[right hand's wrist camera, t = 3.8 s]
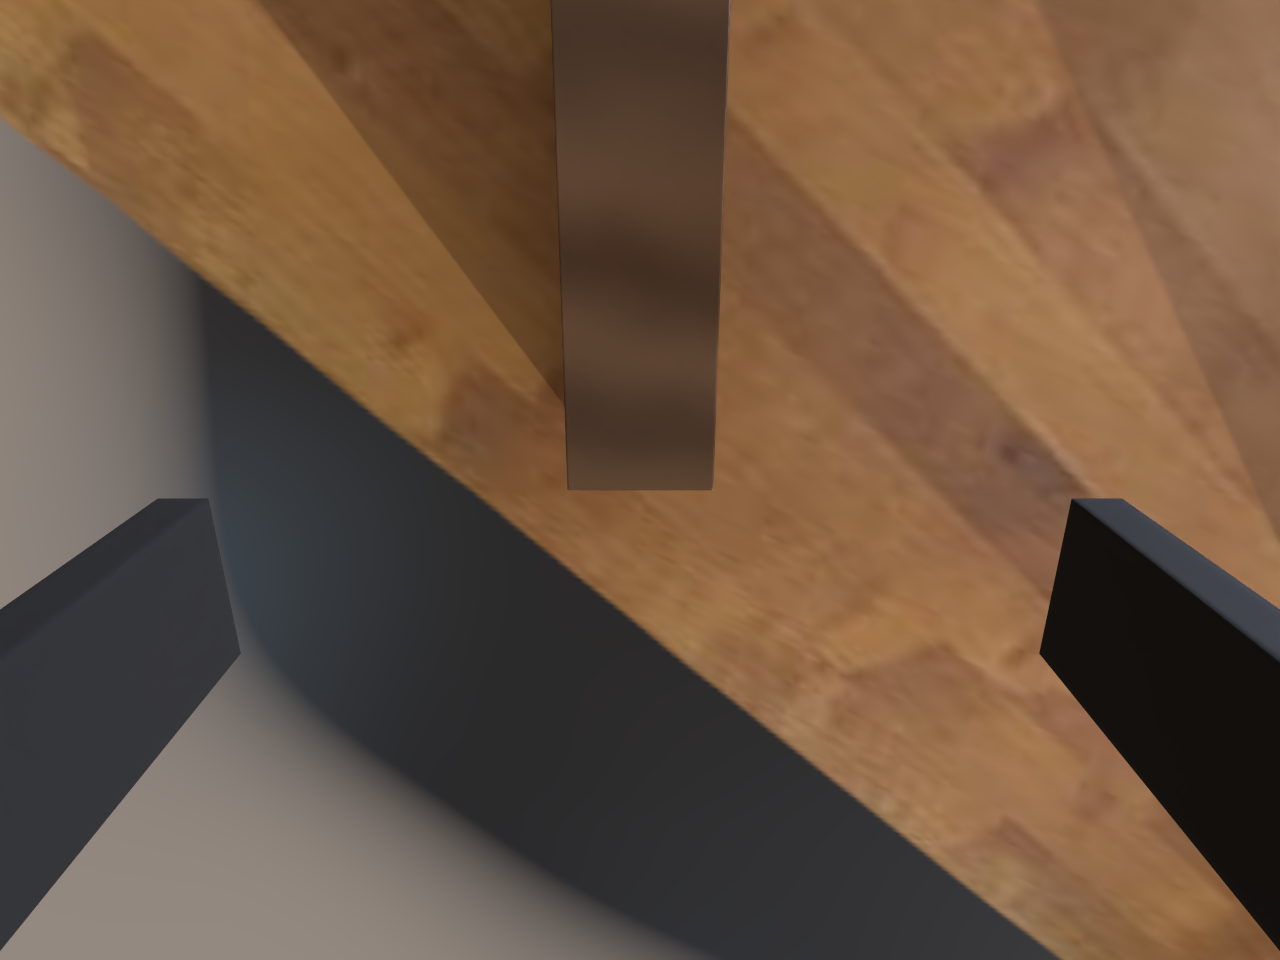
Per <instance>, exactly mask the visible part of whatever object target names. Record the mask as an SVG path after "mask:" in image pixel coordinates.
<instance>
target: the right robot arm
mask: <svg viewBox="0 0 1280 960" xmlns="http://www.w3.org/2000/svg"><path fill="white" fill-rule="evenodd" d="M1039 654H1040V655H1041V656H1042V657H1043V659H1044V660H1045V661H1046V662H1047V663H1048V665H1049V666H1050V667H1051V668H1052V670H1053V671H1054V672H1055V673H1056V675H1057V676H1058V677H1059V678H1060V680H1061V681H1062V682H1063V683H1064V685H1065V686H1066V687H1067V688H1068V689H1069V691H1070V692H1071V693H1072V694H1073V696H1074V697H1075V698H1076V699H1077V701H1078V702H1079V703H1080V704H1081V706H1082V707H1083V708H1084V709H1085V710H1086V712H1087V713H1088V714H1089V715H1090V717H1091V718H1092V719H1093V720H1094V722H1095V723H1096V724H1097V725H1098V727H1099V728H1100V729H1101V730H1102V732H1103V733H1104V734H1105V735H1106V736H1107V738H1108V739H1109V740H1110V741H1111V743H1112V744H1113V745H1114V746H1115V748H1116V749H1117V750H1118V751H1119V753H1120V754H1121V755H1122V756H1123V757H1124V759H1125V760H1126V761H1127V762H1128V764H1129V765H1130V766H1131V767H1132V769H1133V770H1134V771H1135V772H1136V774H1137V775H1138V776H1139V777H1140V779H1141V780H1142V781H1143V782H1144V783H1145V785H1146V786H1147V787H1148V788H1149V790H1150V791H1151V792H1152V793H1153V795H1154V796H1155V797H1156V798H1157V800H1158V801H1159V802H1160V803H1161V804H1162V806H1163V807H1164V808H1165V809H1166V811H1167V812H1168V813H1169V814H1170V816H1171V817H1172V818H1173V819H1174V821H1175V822H1176V823H1177V824H1178V826H1179V827H1180V828H1181V829H1182V830H1183V832H1184V833H1185V834H1186V835H1187V837H1188V838H1189V839H1190V840H1191V842H1192V843H1193V844H1194V845H1195V847H1196V848H1197V849H1198V850H1199V851H1200V853H1201V854H1202V855H1203V856H1204V858H1205V859H1206V860H1207V861H1208V863H1209V864H1210V865H1211V866H1212V868H1213V869H1214V870H1215V871H1216V873H1217V874H1218V875H1219V876H1220V877H1221V879H1222V880H1223V881H1224V882H1225V884H1226V885H1227V886H1228V887H1229V889H1230V890H1231V891H1232V892H1233V894H1234V895H1235V896H1236V897H1237V898H1238V900H1239V901H1240V902H1241V903H1242V905H1243V906H1244V907H1245V908H1246V910H1247V911H1248V912H1249V913H1250V915H1251V916H1252V917H1253V918H1254V920H1255V921H1256V922H1257V923H1258V924H1259V926H1260V927H1261V928H1262V929H1263V931H1264V932H1265V933H1266V934H1267V936H1268V937H1269V938H1270V939H1271V941H1272V942H1273V943H1274V944H1275V945H1276V947H1277V948H1278V949H1279V950H1280V609H1278V608H1277V607H1275V606H1274V605H1273V604H1271V603H1270V602H1268V601H1267V600H1265V599H1264V598H1263V597H1261V596H1260V595H1258V594H1257V593H1256V592H1254V591H1253V590H1251V589H1250V588H1248V587H1247V586H1246V585H1244V584H1243V583H1241V582H1240V581H1238V580H1237V579H1236V578H1234V577H1233V576H1231V575H1230V574H1229V573H1227V572H1226V571H1224V570H1223V569H1221V568H1220V567H1219V566H1217V565H1216V564H1214V563H1213V562H1211V561H1210V560H1209V559H1207V558H1206V557H1204V556H1203V555H1202V554H1200V553H1199V552H1197V551H1196V550H1194V549H1193V548H1192V547H1190V546H1189V545H1187V544H1186V543H1184V542H1183V541H1182V540H1180V539H1179V538H1177V537H1176V536H1175V535H1173V534H1172V533H1170V532H1169V531H1167V530H1166V529H1165V528H1163V527H1162V526H1160V525H1159V524H1157V523H1156V522H1155V521H1153V520H1152V519H1150V518H1149V517H1148V516H1146V515H1145V514H1143V513H1142V512H1140V511H1139V510H1138V509H1136V508H1135V507H1133V506H1132V505H1130V504H1129V503H1128V502H1126V501H1125V500H1123V499H1072V500H1071V505H1070V509H1069V514H1068V519H1067V524H1066V529H1065V533H1064V538H1063V543H1062V548H1061V552H1060V557H1059V562H1058V567H1057V572H1056V576H1055V581H1054V586H1053V591H1052V596H1051V600H1050V605H1049V610H1048V615H1047V619H1046V624H1045V629H1044V634H1043V639H1042V643H1041V648H1040V653H1039ZM239 655H240V648H239V644H238V639H237V634H236V629H235V624H234V619H233V615H232V610H231V605H230V600H229V596H228V591H227V586H226V581H225V576H224V572H223V567H222V562H221V557H220V552H219V548H218V543H217V538H216V533H215V529H214V524H213V519H212V514H211V510H210V505H209V500H208V499H157V500H155V501H154V502H152V503H151V504H150V505H148V506H147V507H145V508H144V509H142V510H141V511H140V512H138V513H137V514H135V515H134V516H133V517H131V518H130V519H128V520H127V521H125V522H124V523H123V524H121V525H120V526H118V527H117V528H115V529H114V530H113V531H111V532H110V533H108V534H107V535H105V536H104V537H103V538H101V539H100V540H98V541H97V542H96V543H94V544H93V545H91V546H90V547H88V548H87V549H86V550H84V551H83V552H81V553H80V554H79V555H77V556H76V557H74V558H73V559H71V560H70V561H69V562H67V563H66V564H64V565H63V566H62V567H60V568H59V569H57V570H56V571H54V572H53V573H52V574H50V575H49V576H47V577H46V578H44V579H43V580H42V581H40V582H39V583H37V584H36V585H34V586H33V587H32V588H30V589H29V590H27V591H26V592H24V593H23V594H22V595H20V596H19V597H17V598H16V599H15V600H13V601H12V602H10V603H9V604H7V605H6V606H5V607H3V608H2V609H0V950H1V949H2V948H3V947H4V945H5V944H6V943H7V942H8V941H9V939H10V938H11V937H12V936H13V934H14V933H15V932H16V931H17V929H18V928H19V927H20V926H21V924H22V923H23V922H24V921H25V920H26V918H27V917H28V916H29V915H30V913H31V912H32V911H33V910H34V908H35V907H36V906H37V905H38V903H39V902H40V901H41V900H42V898H43V897H44V896H45V895H46V894H47V892H48V891H49V890H50V889H51V887H52V886H53V885H54V884H55V882H56V881H57V880H58V879H59V877H60V876H61V875H62V874H63V873H64V871H65V870H66V869H67V868H68V866H69V865H70V864H71V863H72V861H73V860H74V859H75V858H76V856H77V855H78V854H79V853H80V851H81V850H82V849H83V848H84V846H85V845H86V844H87V843H88V842H89V840H90V839H91V838H92V837H93V835H94V834H95V833H96V832H97V830H98V829H99V828H100V827H101V825H102V824H103V823H104V822H105V821H106V819H107V818H108V817H109V816H110V814H111V813H112V812H113V811H114V809H115V808H116V807H117V806H118V804H119V803H120V802H121V801H122V800H123V798H124V797H125V796H126V795H127V793H128V792H129V791H130V790H131V788H132V787H133V786H134V785H135V783H136V782H137V781H138V780H139V779H140V777H141V776H142V775H143V774H144V772H145V771H146V770H147V769H148V767H149V766H150V765H151V764H152V762H153V761H154V760H155V759H156V757H157V756H158V755H159V754H160V752H161V751H162V750H163V749H164V748H165V746H166V745H167V744H168V743H169V741H170V740H171V739H172V738H173V736H174V735H175V734H176V733H177V732H178V730H179V729H180V728H181V727H182V725H183V724H184V723H185V722H186V720H187V719H188V718H189V717H190V715H191V714H192V713H193V712H194V710H195V709H196V708H197V707H198V706H199V704H200V703H201V702H202V701H203V699H204V698H205V697H206V696H207V694H208V693H209V692H210V691H211V689H212V688H213V687H214V686H215V685H216V683H217V682H218V681H219V680H220V678H221V677H222V676H223V675H224V673H225V672H226V671H227V670H228V668H229V667H230V666H231V665H232V663H233V662H234V661H235V660H236V659H237V657H238V656H239Z"/></svg>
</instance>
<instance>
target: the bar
mask: <svg viewBox="0 0 1280 960" xmlns="http://www.w3.org/2000/svg"><path fill="white" fill-rule="evenodd" d="M730 1H731V0H551V25H552V54H553V83H554V111H555V140H556V169H557V198H558V227H559V255H560V284H561V313H562V342H563V371H564V399H565V428H566V457H567V486H568V490H713V481H714V453H715V425H716V396H717V368H718V340H719V311H720V283H721V255H722V227H723V198H724V170H725V142H726V114H727V85H728V57H729V29H730Z"/></svg>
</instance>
